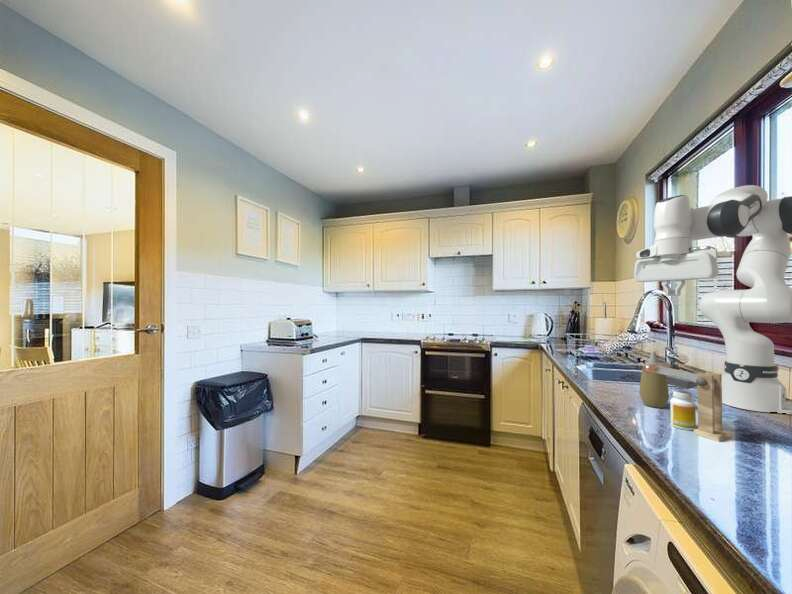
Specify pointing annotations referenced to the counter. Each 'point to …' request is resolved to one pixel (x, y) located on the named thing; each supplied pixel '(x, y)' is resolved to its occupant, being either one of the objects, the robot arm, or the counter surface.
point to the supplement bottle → (682, 411)
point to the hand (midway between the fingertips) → (673, 295)
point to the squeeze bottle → (653, 386)
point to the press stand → (710, 407)
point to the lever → (673, 375)
